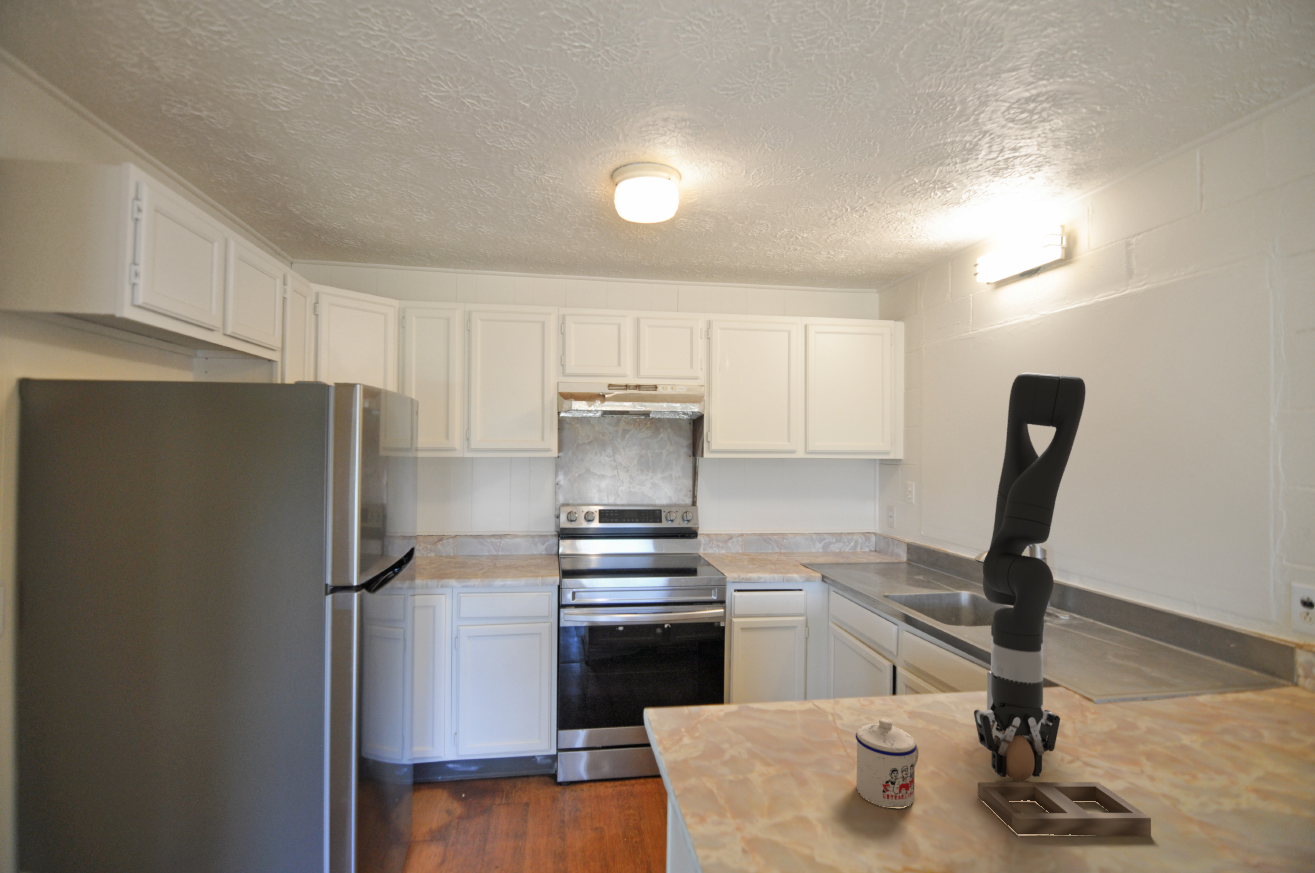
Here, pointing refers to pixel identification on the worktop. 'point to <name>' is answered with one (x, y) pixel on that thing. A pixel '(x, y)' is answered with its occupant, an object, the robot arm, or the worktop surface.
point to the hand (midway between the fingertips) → (1016, 773)
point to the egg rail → (1064, 809)
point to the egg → (1019, 759)
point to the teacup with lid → (886, 764)
